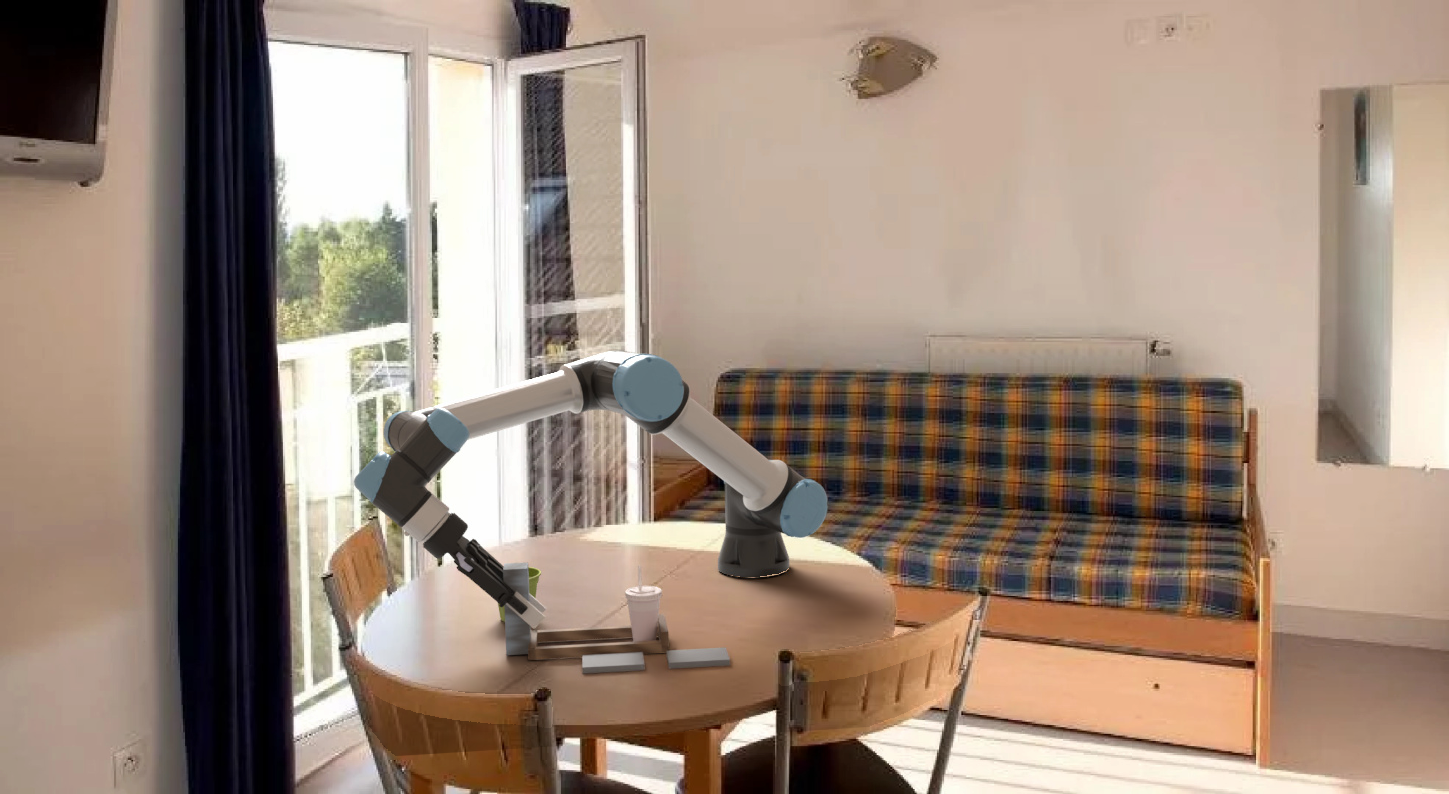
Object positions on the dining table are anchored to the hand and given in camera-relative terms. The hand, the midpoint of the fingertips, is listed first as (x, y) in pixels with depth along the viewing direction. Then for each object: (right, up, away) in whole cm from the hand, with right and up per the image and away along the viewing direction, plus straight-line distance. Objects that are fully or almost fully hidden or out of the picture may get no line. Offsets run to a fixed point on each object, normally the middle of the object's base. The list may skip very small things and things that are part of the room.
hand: (539, 618), depth 208 cm
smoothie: (+18, -5, +3) cm, 19 cm away
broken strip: (+20, -6, -6) cm, 22 cm away
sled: (+8, -6, +2) cm, 10 cm away
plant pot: (-7, -4, +19) cm, 21 cm away
